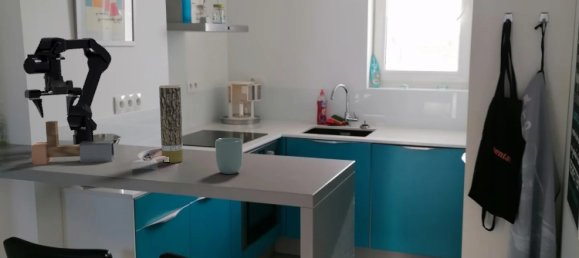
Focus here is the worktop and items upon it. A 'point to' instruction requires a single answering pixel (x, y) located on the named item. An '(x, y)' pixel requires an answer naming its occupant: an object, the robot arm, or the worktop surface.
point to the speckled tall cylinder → (171, 122)
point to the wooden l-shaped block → (53, 143)
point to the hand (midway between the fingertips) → (55, 116)
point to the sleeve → (96, 151)
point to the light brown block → (40, 153)
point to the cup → (229, 155)
